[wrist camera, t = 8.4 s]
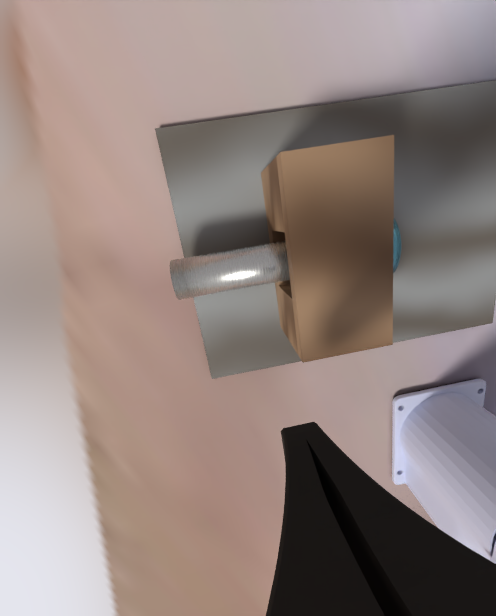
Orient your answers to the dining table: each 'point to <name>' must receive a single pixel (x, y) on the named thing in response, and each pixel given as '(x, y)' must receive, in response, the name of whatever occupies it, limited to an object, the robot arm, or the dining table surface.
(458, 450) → the robot arm
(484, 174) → the hitch block
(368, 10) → the dining table surface
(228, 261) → the pin
